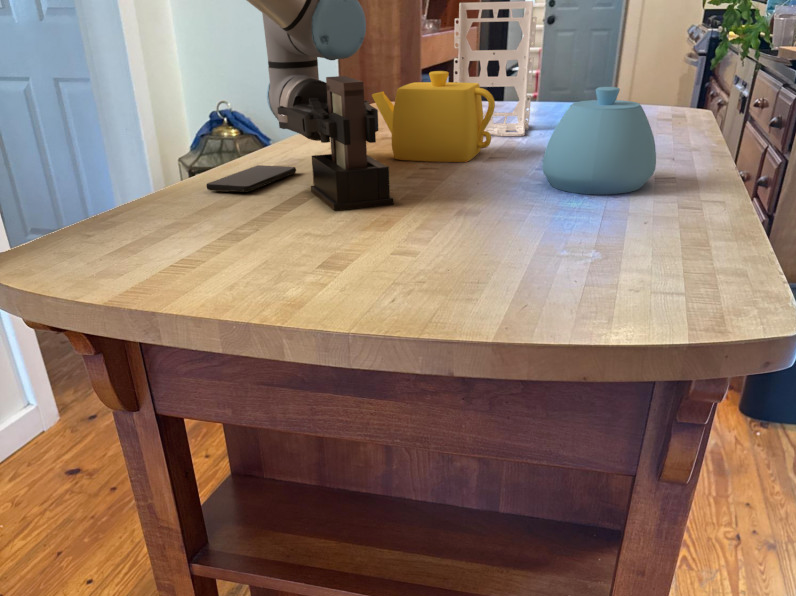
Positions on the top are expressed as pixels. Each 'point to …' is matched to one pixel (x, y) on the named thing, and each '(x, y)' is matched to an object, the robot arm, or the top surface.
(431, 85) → the teapot
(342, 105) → the frame
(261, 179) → the smartphone
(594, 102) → the sugar bowl
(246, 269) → the top surface
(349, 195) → the holder
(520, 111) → the white perforated rack
